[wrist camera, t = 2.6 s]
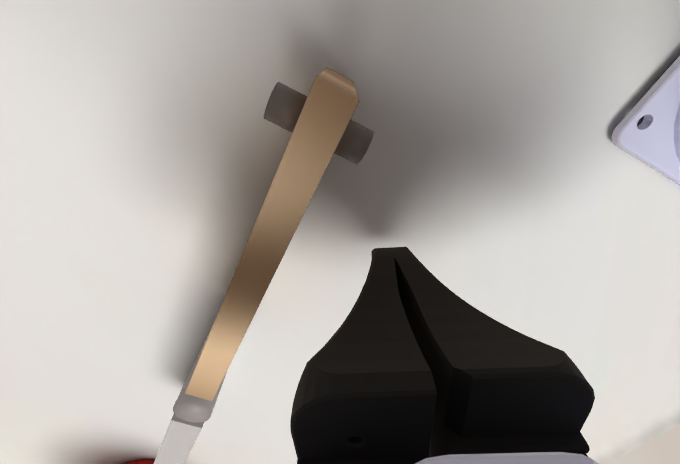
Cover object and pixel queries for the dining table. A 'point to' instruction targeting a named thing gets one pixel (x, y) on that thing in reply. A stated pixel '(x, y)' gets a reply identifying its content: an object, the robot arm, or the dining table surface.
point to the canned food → (141, 462)
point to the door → (282, 208)
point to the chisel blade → (185, 423)
